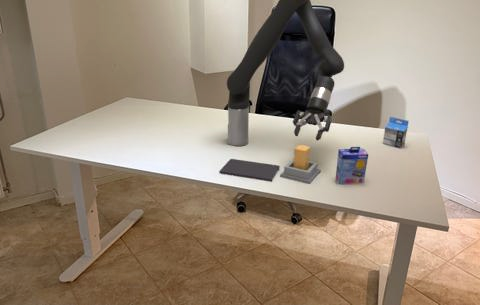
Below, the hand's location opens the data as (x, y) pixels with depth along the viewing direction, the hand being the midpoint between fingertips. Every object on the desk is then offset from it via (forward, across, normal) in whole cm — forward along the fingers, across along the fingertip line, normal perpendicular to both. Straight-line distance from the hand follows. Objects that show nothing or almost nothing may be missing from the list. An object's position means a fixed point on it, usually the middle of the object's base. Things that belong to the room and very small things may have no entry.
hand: (306, 137), depth 151 cm
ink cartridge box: (+10, +18, +10) cm, 23 cm away
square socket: (+13, 0, +7) cm, 14 cm away
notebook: (+18, -18, +3) cm, 26 cm away
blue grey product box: (-22, +26, +42) cm, 54 cm away
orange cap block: (+12, 0, +6) cm, 13 cm away
